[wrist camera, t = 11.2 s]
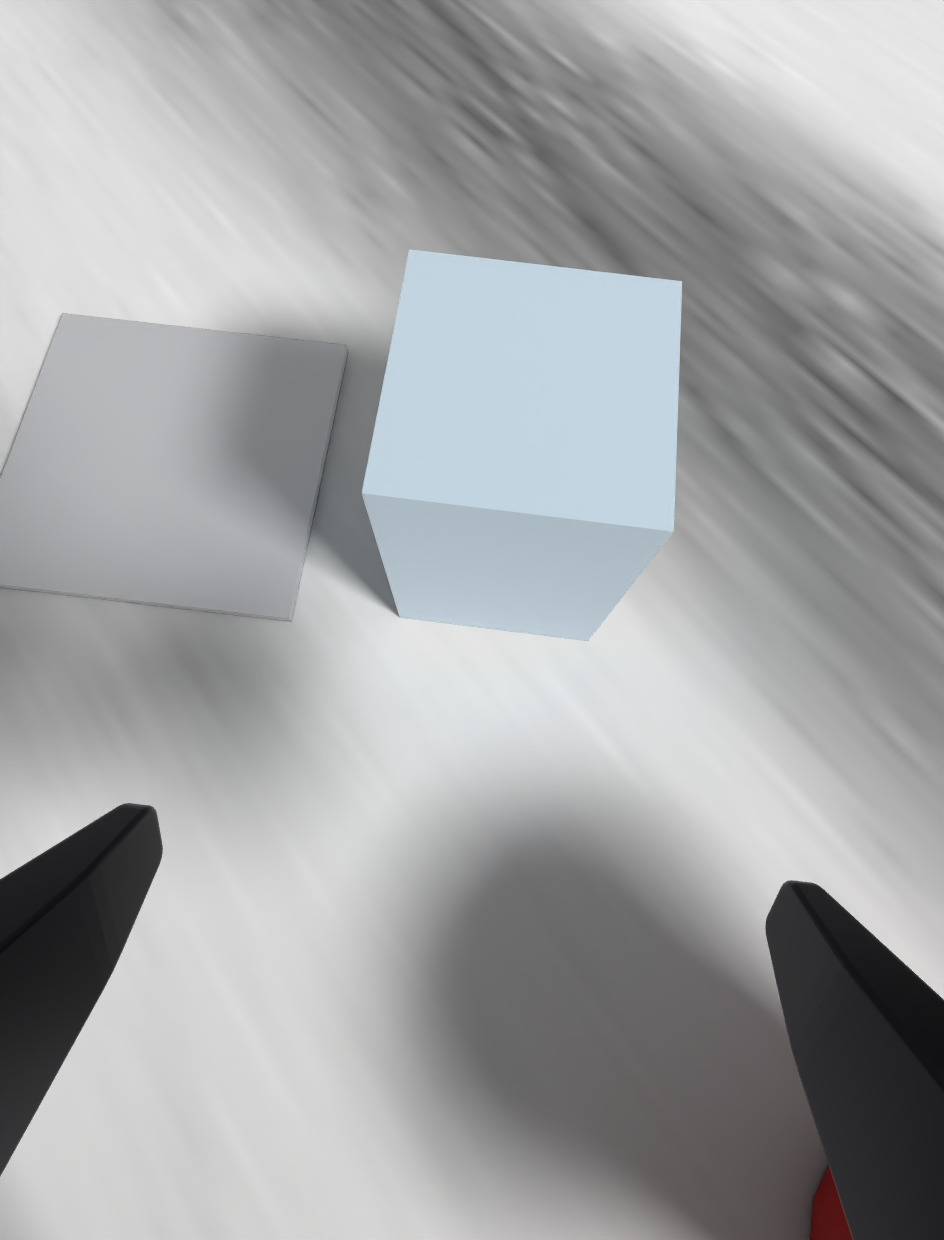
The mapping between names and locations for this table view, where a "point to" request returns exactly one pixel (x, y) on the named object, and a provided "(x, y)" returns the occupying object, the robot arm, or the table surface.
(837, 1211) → the plastic cup
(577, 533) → the light blue block
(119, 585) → the mat
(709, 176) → the table surface
